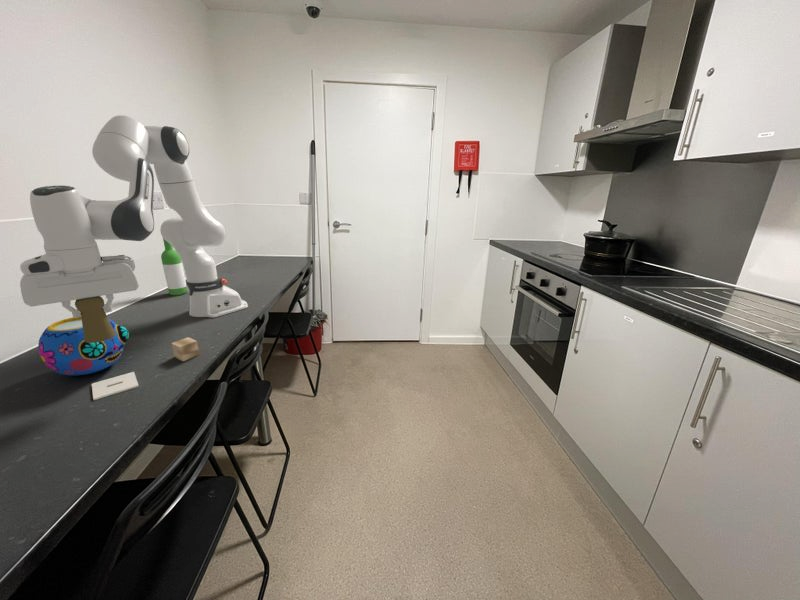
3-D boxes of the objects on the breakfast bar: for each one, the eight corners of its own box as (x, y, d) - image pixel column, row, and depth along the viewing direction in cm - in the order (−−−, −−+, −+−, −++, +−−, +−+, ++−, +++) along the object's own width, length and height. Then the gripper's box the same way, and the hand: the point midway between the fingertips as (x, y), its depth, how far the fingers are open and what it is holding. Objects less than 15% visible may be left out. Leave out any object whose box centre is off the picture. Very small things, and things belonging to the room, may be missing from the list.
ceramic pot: (95, 387, 86) (78, 336, 81) (30, 385, 87) (9, 334, 82) (145, 355, 103) (133, 311, 98) (90, 354, 103) (75, 310, 98)
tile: (134, 373, 93) (133, 371, 93) (138, 386, 87) (138, 384, 87) (92, 385, 87) (91, 383, 87) (93, 400, 81) (93, 398, 81)
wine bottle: (168, 297, 156) (154, 234, 146) (170, 292, 163) (156, 232, 153) (187, 294, 160) (174, 233, 150) (188, 290, 166) (176, 231, 156)
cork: (97, 344, 79) (83, 301, 75) (78, 341, 80) (63, 299, 77) (122, 333, 85) (110, 293, 81) (104, 331, 86) (91, 291, 82)
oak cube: (191, 351, 106) (188, 337, 105) (199, 355, 104) (196, 340, 102) (174, 357, 102) (171, 343, 101) (183, 361, 100) (179, 347, 98)
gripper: (130, 252, 85) (143, 301, 89) (12, 263, 71) (35, 320, 76) (133, 255, 81) (147, 307, 85) (9, 268, 67) (32, 329, 72)
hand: (93, 314), depth 80 cm, fingers closed on cork, 4 cm apart
